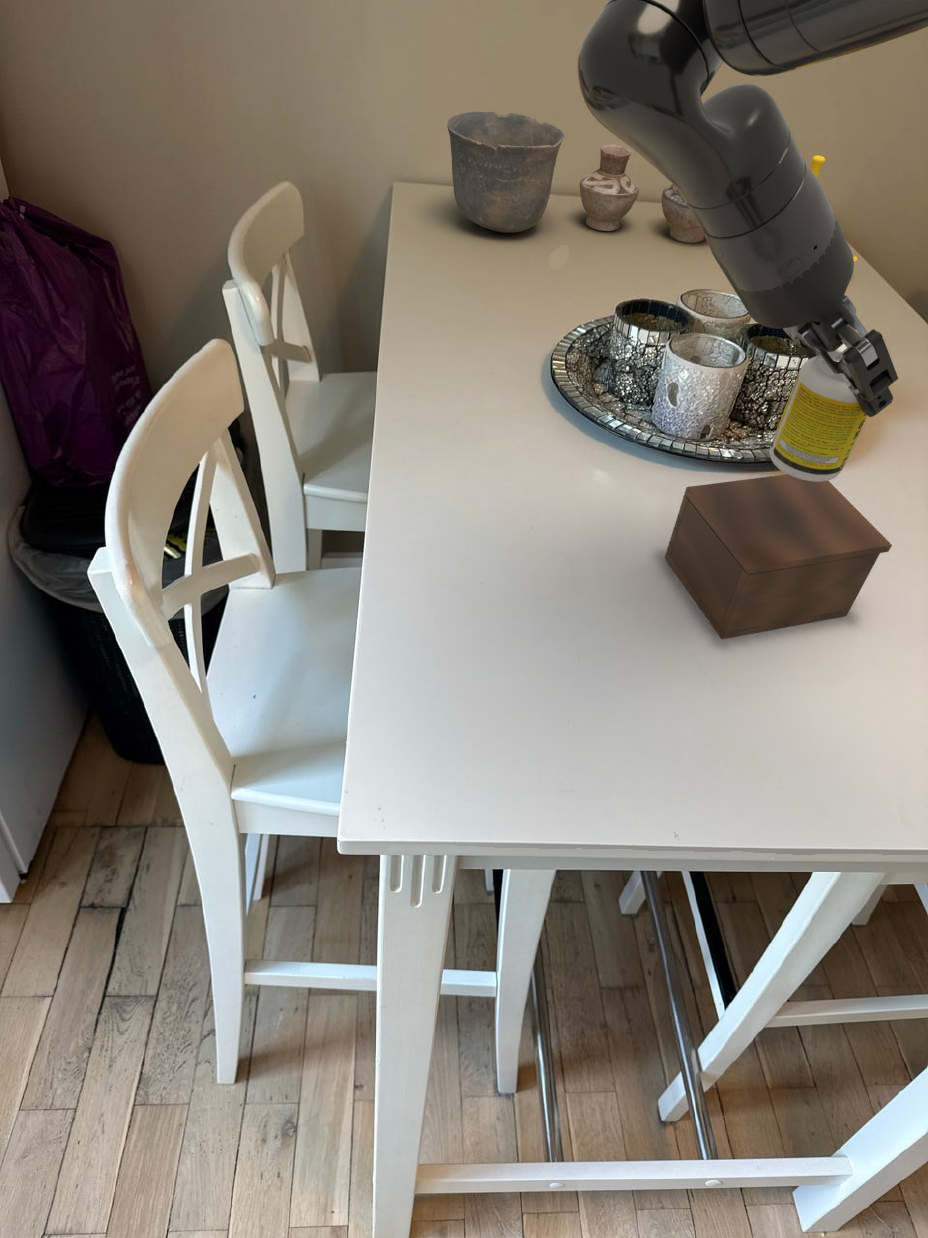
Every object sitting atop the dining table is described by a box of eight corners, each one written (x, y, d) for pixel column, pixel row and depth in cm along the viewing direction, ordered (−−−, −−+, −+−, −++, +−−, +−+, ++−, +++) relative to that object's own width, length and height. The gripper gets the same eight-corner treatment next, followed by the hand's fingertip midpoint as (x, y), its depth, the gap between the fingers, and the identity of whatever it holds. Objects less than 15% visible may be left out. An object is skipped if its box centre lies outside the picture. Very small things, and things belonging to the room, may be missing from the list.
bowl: (474, 254, 137) (483, 150, 127) (423, 213, 148) (427, 114, 137) (568, 240, 144) (584, 140, 134) (513, 202, 155) (523, 106, 144)
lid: (815, 476, 86) (818, 469, 85) (888, 551, 78) (892, 544, 78) (684, 493, 82) (686, 486, 82) (747, 574, 74) (750, 567, 74)
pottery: (574, 210, 154) (586, 135, 146) (716, 228, 154) (736, 154, 145) (572, 234, 146) (584, 156, 138) (722, 253, 146) (744, 176, 137)
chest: (781, 539, 91) (807, 477, 86) (846, 616, 83) (880, 553, 78) (664, 557, 88) (684, 494, 82) (721, 639, 80) (747, 575, 74)
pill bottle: (849, 487, 73) (907, 366, 66) (776, 481, 73) (826, 359, 65) (828, 446, 78) (881, 328, 70) (760, 440, 77) (805, 321, 70)
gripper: (891, 242, 53) (955, 399, 65) (766, 162, 63) (841, 311, 74) (787, 330, 56) (866, 467, 67) (682, 240, 65) (767, 373, 77)
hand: (853, 384), depth 71 cm, fingers closed on pill bottle, 6 cm apart
